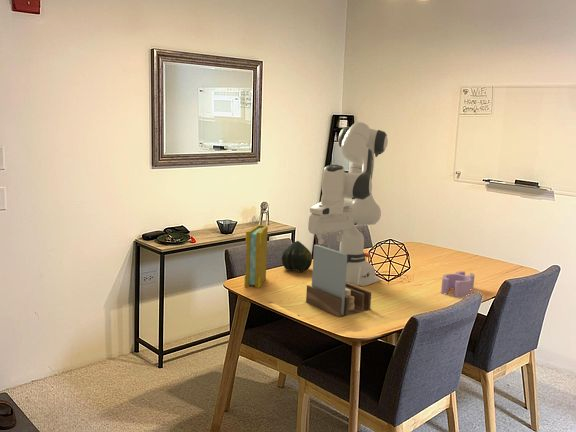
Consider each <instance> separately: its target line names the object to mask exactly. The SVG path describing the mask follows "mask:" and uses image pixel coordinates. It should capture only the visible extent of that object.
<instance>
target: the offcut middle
mask: <svg viewBox="0 0 576 432" xmlns="http://www.w3.org/2000/svg"><path fill="white" fill-rule="evenodd" d="M348 297H349V304H352V303H354V298H355V297H353V296H348Z"/></svg>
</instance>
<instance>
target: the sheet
mask: <svg viewBox="0 0 576 432" xmlns="http://www.w3.org/2000/svg"><path fill="white" fill-rule="evenodd" d="M339 251H340V250H336V249H332V248H329V247H325V246H324V245H320V244H314V245H313V254H312V255H313V256H312V271H311V272H312V273H311V274H312V275H311V286H312V287H314V288H317V289H319V290H322V291H324V292H326V293H329V294H331V295H334V296H336V297H339V298H341V299H342V307H341V315H344V303H345V287H346V283H347V282H346V271H347V254H345V253H342V252H339Z"/></svg>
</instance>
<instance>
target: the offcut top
mask: <svg viewBox="0 0 576 432" xmlns="http://www.w3.org/2000/svg"><path fill="white" fill-rule="evenodd" d="M345 296H347V297H348V296H351V290H350V289H347V288H345Z"/></svg>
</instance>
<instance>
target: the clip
mask: <svg viewBox="0 0 576 432" xmlns="http://www.w3.org/2000/svg"><path fill="white" fill-rule="evenodd" d="M474 284H475V273H472V272H470V273H469V275H466V271H461V270H460V271H456V272H455V273H447V274H443V275H442V279H441V287H440V288H441V291H440V294H441V293H442V294H441V295H445V294H444V293H448V294H449V289H448V288H455V289H454V295H453V296H454V297H455V298H459V297H467V296H466V295H468V294H470V295H471V291H470V289H473V290H474V286H475V285H474ZM468 296H469V295H468Z"/></svg>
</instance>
